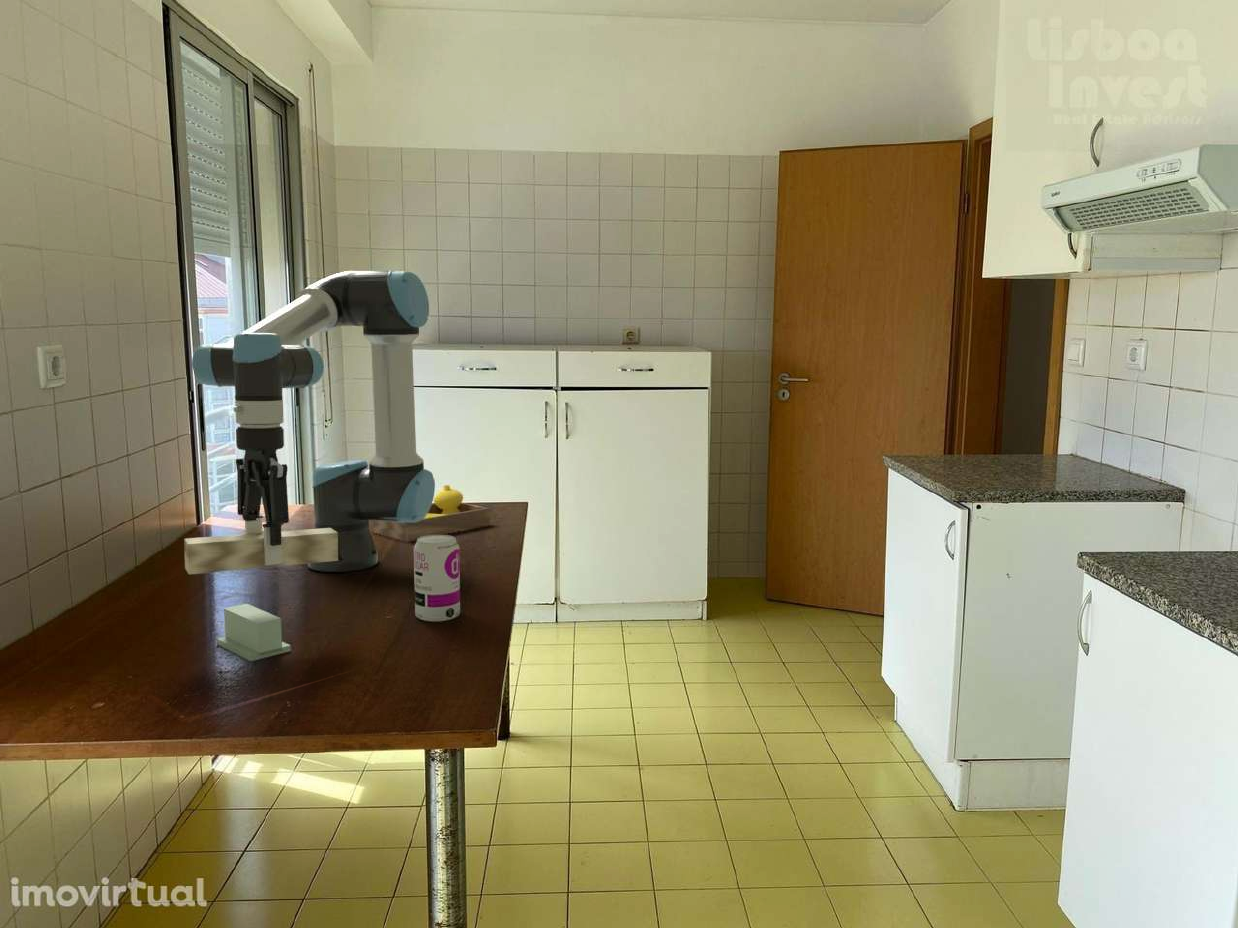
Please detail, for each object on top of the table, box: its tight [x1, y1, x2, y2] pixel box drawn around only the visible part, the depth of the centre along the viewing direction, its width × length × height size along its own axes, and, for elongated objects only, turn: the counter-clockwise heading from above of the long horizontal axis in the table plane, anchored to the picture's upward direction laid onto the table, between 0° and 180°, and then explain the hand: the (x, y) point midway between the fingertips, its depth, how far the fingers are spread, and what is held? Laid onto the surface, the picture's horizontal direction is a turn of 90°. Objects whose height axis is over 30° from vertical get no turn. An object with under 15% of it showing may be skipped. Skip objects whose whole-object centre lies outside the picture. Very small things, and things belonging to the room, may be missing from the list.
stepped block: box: [216, 603, 292, 662], centre depth 161 cm, size 12×7×6 cm, turn 47°
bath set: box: [423, 484, 464, 519], centre depth 255 cm, size 20×10×11 cm, turn 145°
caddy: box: [370, 502, 491, 543], centre depth 252 cm, size 16×26×6 cm, turn 137°
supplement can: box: [413, 534, 461, 622], centre depth 179 cm, size 8×8×15 cm
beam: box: [183, 528, 338, 575], centre depth 164 cm, size 24×5×5 cm, turn 121°
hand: (264, 560), depth 164 cm, fingers closed on beam, 6 cm apart
